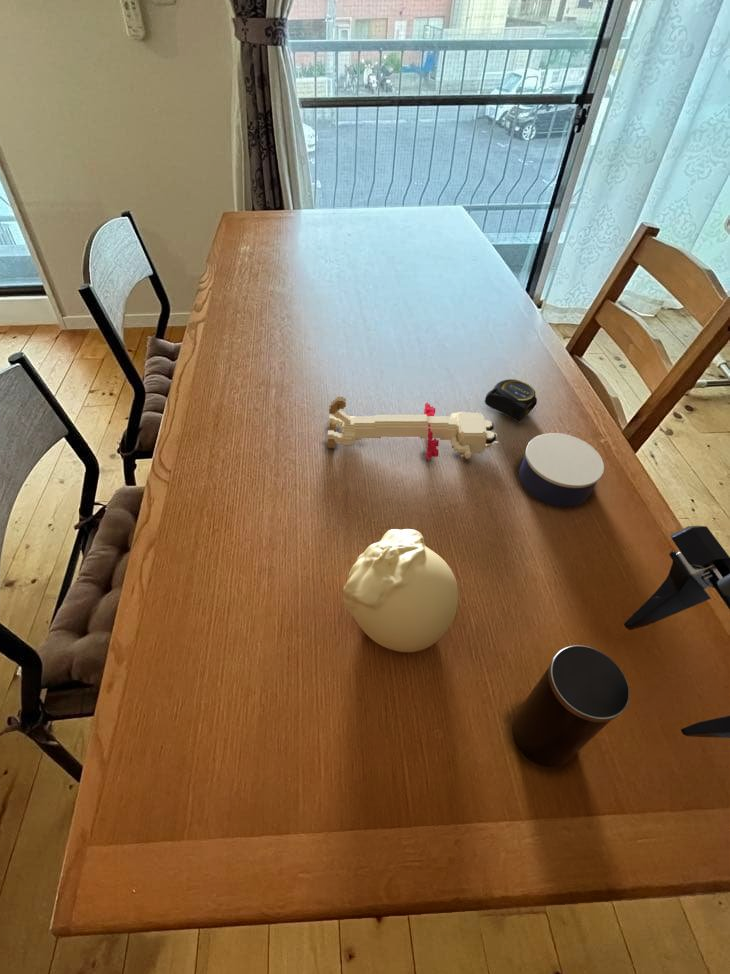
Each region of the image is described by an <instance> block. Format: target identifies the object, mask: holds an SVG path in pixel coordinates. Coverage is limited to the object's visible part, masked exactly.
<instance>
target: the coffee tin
mask: <svg viewBox="0 0 730 974" xmlns="http://www.w3.org/2000/svg"><path fill="white" fill-rule="evenodd" d="M604 471H605V464H604V460H603V458H602V456H601V455H600V453H599V452H598V451H597V449H595V448H594V447H593V446H592V445H590V444H589V443H588V442H586V441H584V440H582V439H581V438H578V437H576V436H573V435H569V434H566V433H559V432H558V433H557V432H552V433H551V432H550V433H543V434H539V435H537V436H535V437H533V438H532V439H530V441H529V442H528V444H527V445H526V448H525V453H524V457H523V458H522V461H521V465H520V467H519V469H518V478H519V481H520V484H521V485H522V487H523V489H524V490H525V491H526V492H527V493H528V494H529V495H531V496H532V497H534V498H535V499H537V500H538V501H540V502H543V503H544V504H548V505H550V506H555V507H560V508H561V507H563V508H568V507H575V506H578V505H581V504H583V503H585V502H586V501H587V500H588V498H589V497H590V495H591V494H592V492H593V491H594V488H595V486H596V485H597V483H598V481H600V479H601V478H602V476H603V475H604Z"/></svg>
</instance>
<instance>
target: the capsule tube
mask: <svg viewBox="0 0 730 974" xmlns="http://www.w3.org/2000/svg"><path fill="white" fill-rule="evenodd" d="M629 701H630V688H629V683H628V681H627V678H626V676H625V674H624V672H623V671H622V669H621V668H620V667H619V665H618V664H617V663H616V662H615V661H614V660H613V659H612V658H610V657H609V656H608V655H606V654H605V653H603V652H601V651H600V650H598V649H596V648H593V647H590V646H587V645H586V646H585V645H570V646H566V647H564V648H562V649H560V650H559V651H558V652H557V653H556V654H555V655H554V657H553V658H552V659H551V661H550V664H549V665H548V668H547V669H546V670H545V672H544V673H543V675H542V676H541V678H539V680H538V681H537V683H536V684H535V686H534V687H533V689H532V690H531V692H530V693H529V694H528V696H527V697H526V699H525V700H524V701H523V703H522V704H521V706H520V707H519V708H518V710H517V711H516V713H515V714H514V716H513V718H512V722H511V733H512V736H513V741H514V742H515V745H516V746H517V748H518V750H519V751H520V752H521V753H522V755H523V756H524V757H525V758H526V759H527V760H529V761H531V762H532V763H533V764H535V765H538V766H539V767H543V768H547V769H549V768H550V769H553V768H559V767H562V766H564V765H565V764H567V763H568V762H569V761H570V760H571V759H572V758H573V757H574V756H575V755H576V754H578V752H579V751H580V750H582V748H583V747H585V746H586V745H587V744H588V743H589V742H590V741H591V740H592V739H593V738H594V737H596V735H598V734H599V733H600V732H601V730H603V729H604V728H605V727H606V726H607V725H608V724H609V723H610V722H611V721H612V720H615V719H616V718H618V717H619V716H620V715H621V714H622V713H623V712H624V711H625V709H627V707H628V704H629Z"/></svg>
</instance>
